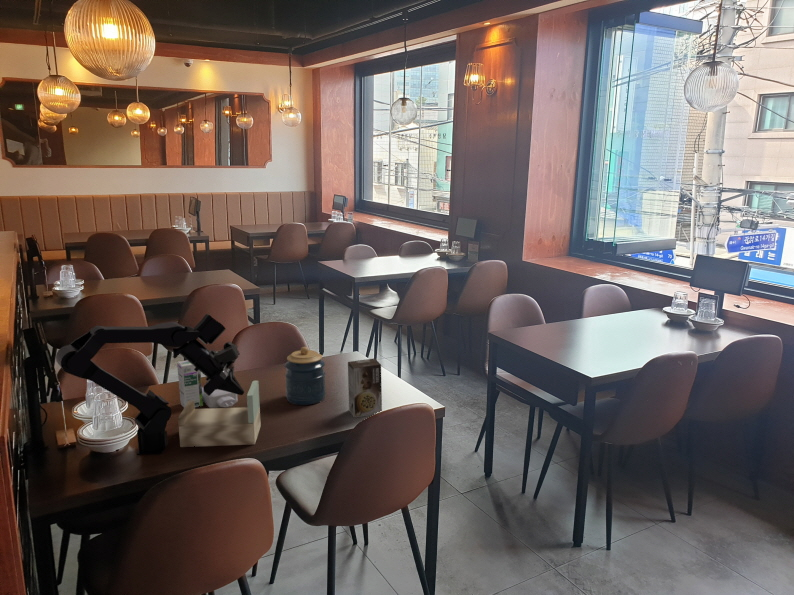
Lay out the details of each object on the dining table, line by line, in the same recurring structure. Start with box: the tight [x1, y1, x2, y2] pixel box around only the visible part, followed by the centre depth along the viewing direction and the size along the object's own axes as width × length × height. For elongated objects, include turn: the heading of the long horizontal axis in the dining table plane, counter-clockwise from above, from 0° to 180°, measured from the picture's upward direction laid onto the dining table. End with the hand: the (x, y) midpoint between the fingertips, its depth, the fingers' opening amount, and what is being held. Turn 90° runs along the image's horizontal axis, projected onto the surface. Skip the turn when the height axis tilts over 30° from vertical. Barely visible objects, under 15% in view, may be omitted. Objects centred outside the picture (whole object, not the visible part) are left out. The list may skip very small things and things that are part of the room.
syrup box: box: [176, 360, 204, 409], centre depth 194 cm, size 6×6×14 cm
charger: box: [202, 386, 239, 409], centre depth 196 cm, size 5×9×15 cm
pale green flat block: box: [246, 380, 261, 423], centre depth 172 cm, size 2×12×8 cm, turn 5°
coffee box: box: [347, 358, 383, 418], centre depth 189 cm, size 9×6×16 cm
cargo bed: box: [177, 401, 262, 448], centre depth 172 cm, size 20×12×8 cm, turn 95°
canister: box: [284, 346, 327, 406], centre depth 200 cm, size 13×13×18 cm
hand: (243, 393), depth 171 cm, fingers closed
